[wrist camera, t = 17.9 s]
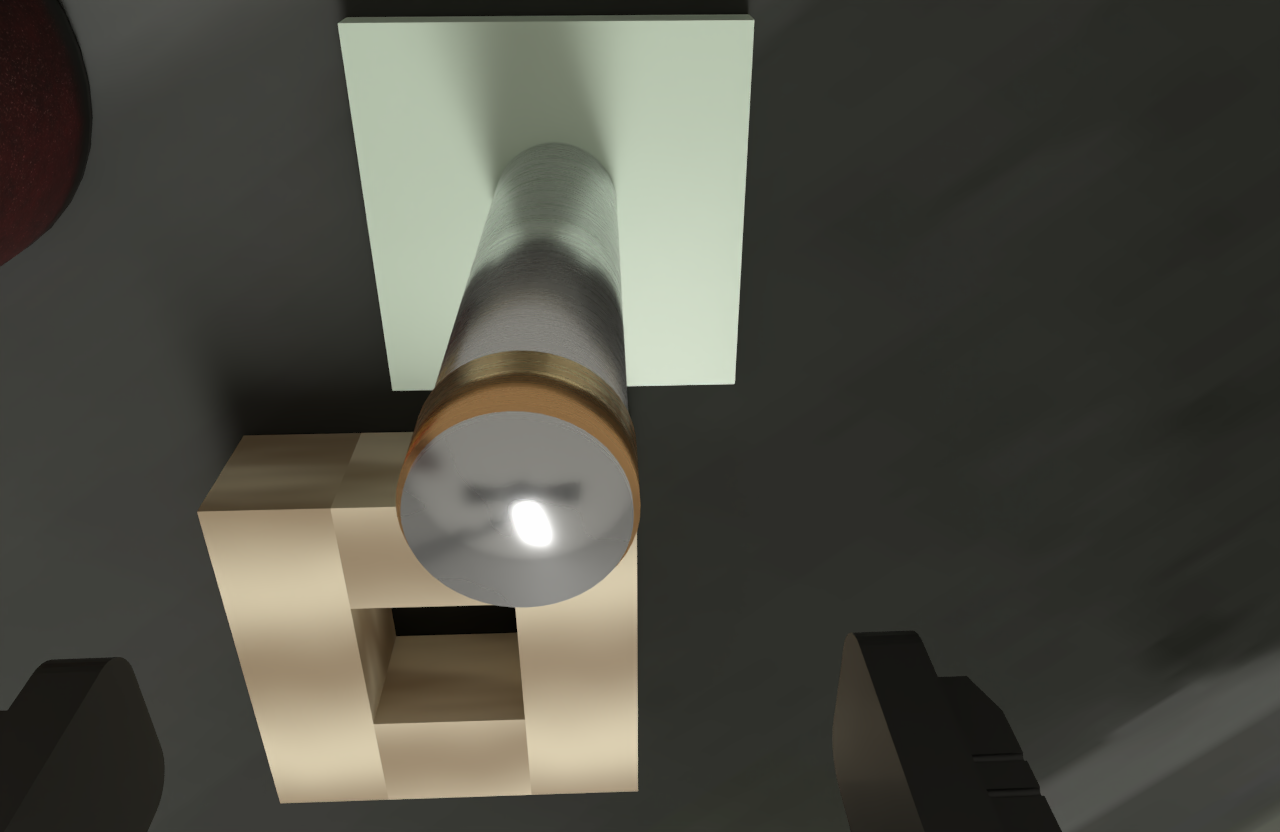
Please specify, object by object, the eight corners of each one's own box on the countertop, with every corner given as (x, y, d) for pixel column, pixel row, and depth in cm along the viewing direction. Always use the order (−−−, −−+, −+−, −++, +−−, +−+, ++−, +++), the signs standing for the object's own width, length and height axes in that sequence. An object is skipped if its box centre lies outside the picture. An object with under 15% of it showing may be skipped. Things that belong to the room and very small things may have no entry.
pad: (730, 368, 29) (734, 383, 28) (398, 375, 29) (392, 390, 28) (748, 14, 24) (754, 19, 23) (346, 16, 24) (337, 23, 23)
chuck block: (634, 701, 36) (637, 790, 33) (311, 711, 36) (280, 803, 32) (632, 427, 30) (636, 500, 27) (243, 435, 30) (197, 511, 26)
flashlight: (639, 166, 25) (678, 457, 13) (594, 281, 26) (591, 636, 14) (514, 118, 24) (430, 378, 12) (475, 239, 26) (367, 576, 14)
